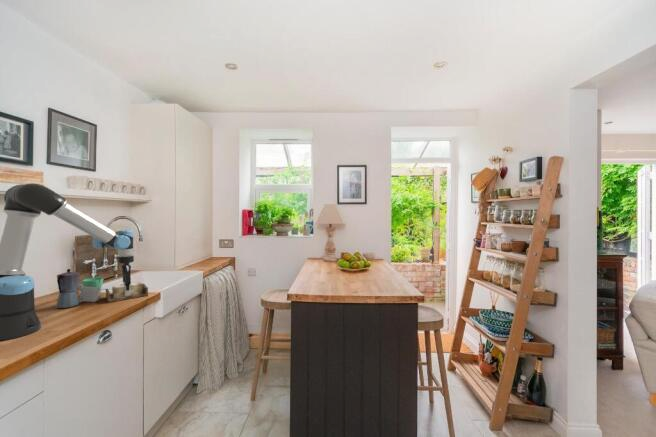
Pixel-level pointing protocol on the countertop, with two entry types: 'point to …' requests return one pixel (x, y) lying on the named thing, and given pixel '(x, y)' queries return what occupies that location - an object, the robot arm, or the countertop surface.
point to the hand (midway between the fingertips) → (127, 294)
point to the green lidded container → (93, 282)
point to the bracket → (89, 293)
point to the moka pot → (68, 289)
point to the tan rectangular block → (120, 290)
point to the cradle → (110, 296)
